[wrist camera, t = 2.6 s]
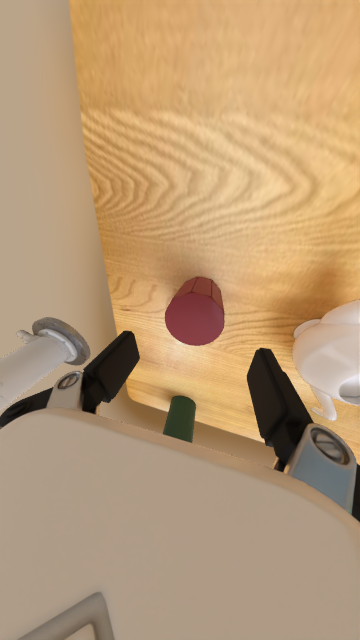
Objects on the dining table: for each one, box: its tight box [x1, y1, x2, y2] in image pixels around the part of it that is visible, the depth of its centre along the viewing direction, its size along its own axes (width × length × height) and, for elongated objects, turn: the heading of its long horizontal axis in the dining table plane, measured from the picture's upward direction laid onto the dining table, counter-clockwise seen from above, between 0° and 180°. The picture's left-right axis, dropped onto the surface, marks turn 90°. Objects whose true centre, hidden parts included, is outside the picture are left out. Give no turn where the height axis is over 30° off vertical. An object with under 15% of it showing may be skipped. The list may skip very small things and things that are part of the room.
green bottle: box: [163, 396, 196, 443], centre depth 32 cm, size 7×7×15 cm
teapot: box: [292, 299, 360, 421], centre depth 16 cm, size 10×20×9 cm, turn 5°
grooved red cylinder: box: [165, 277, 224, 346], centre depth 18 cm, size 7×7×8 cm
